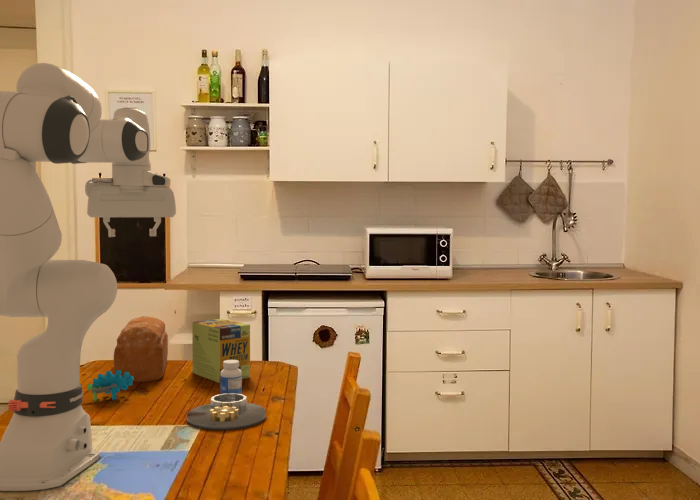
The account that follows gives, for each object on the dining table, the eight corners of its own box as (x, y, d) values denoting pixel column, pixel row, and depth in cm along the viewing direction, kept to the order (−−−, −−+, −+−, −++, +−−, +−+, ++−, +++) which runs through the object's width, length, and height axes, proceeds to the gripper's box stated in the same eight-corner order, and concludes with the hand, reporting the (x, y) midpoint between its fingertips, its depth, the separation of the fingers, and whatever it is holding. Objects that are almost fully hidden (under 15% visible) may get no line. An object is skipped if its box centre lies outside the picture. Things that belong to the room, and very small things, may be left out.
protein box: (219, 383, 190) (219, 328, 189) (191, 373, 201) (191, 321, 200) (251, 377, 197) (251, 324, 196) (222, 368, 208) (222, 318, 208)
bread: (111, 384, 189) (111, 327, 188) (123, 363, 215) (122, 313, 214) (163, 381, 192) (163, 326, 191) (168, 361, 218) (168, 312, 217)
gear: (137, 383, 179) (128, 364, 172) (138, 403, 176) (130, 384, 168) (93, 393, 177) (82, 374, 170) (94, 413, 174) (83, 395, 166)
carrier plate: (262, 429, 150) (262, 413, 150) (179, 430, 149) (179, 413, 149) (268, 406, 168) (268, 391, 168) (194, 406, 167) (194, 392, 167)
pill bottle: (218, 397, 176) (217, 359, 175) (238, 395, 178) (238, 358, 178) (223, 402, 171) (223, 364, 170) (244, 400, 173) (244, 362, 173)
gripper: (85, 177, 156) (86, 237, 157) (176, 179, 164) (177, 236, 165) (84, 178, 162) (85, 236, 163) (173, 179, 170) (173, 235, 171)
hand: (132, 236), depth 164 cm, fingers open, 8 cm apart
